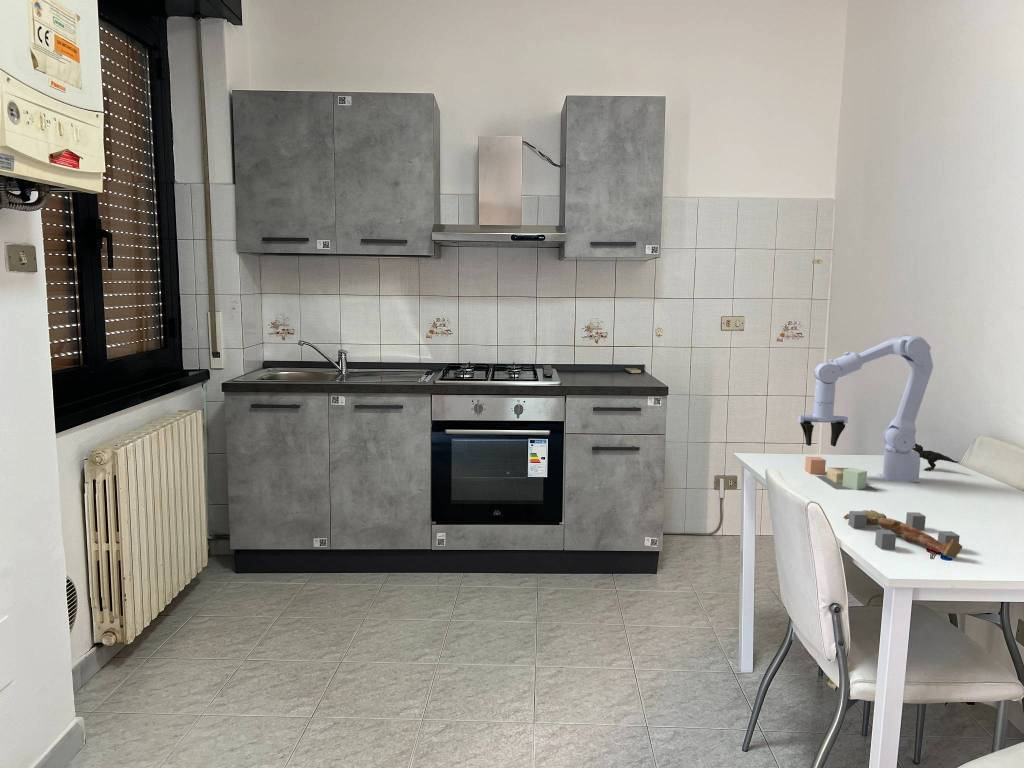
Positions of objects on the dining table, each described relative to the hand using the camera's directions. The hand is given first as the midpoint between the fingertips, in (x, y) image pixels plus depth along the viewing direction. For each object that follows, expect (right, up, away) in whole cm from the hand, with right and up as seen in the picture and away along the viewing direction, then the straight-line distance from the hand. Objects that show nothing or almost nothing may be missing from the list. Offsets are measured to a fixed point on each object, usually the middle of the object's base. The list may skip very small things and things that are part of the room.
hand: (820, 445), depth 229 cm
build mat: (+4, -11, -9) cm, 14 cm away
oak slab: (+4, -10, -6) cm, 12 cm away
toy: (+41, -9, +10) cm, 43 cm away
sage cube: (+4, -11, -14) cm, 18 cm away
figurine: (-5, -18, -55) cm, 58 cm away
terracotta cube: (-1, -9, +3) cm, 10 cm away
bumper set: (-5, -17, -56) cm, 58 cm away
